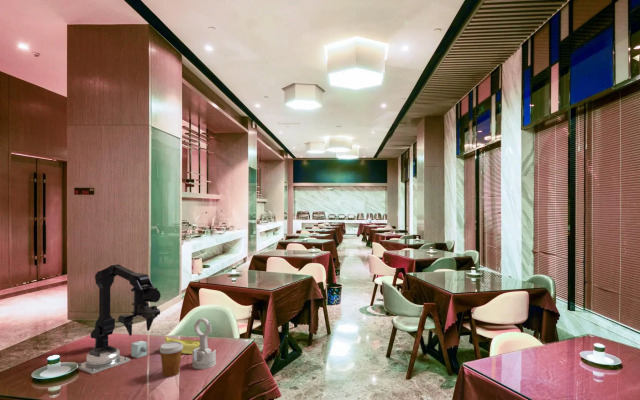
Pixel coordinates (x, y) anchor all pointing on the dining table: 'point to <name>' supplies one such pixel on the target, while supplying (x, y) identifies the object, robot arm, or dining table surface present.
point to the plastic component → (185, 344)
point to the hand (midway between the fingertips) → (139, 333)
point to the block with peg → (139, 349)
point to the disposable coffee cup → (171, 358)
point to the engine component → (203, 348)
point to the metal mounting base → (102, 359)
